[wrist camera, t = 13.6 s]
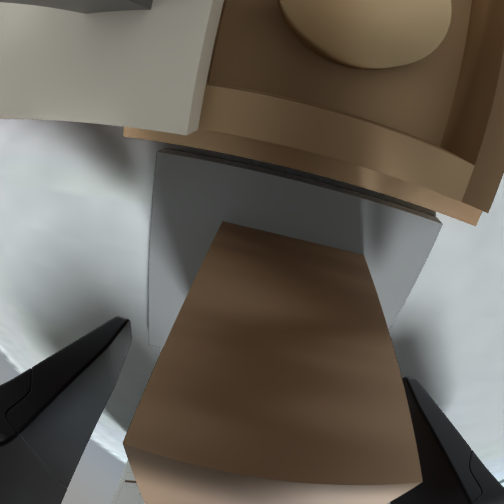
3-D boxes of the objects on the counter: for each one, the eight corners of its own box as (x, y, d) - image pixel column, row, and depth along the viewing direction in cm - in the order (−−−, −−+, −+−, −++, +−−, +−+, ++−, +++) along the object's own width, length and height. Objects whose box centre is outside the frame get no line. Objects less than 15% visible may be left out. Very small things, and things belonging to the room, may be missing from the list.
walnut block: (363, 255, 11) (422, 481, 4) (319, 353, 13) (320, 535, 6) (222, 221, 11) (122, 443, 4) (205, 328, 13) (146, 507, 6)
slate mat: (436, 217, 10) (442, 223, 10) (350, 379, 15) (352, 387, 14) (163, 147, 10) (156, 151, 10) (153, 336, 15) (149, 344, 14)
